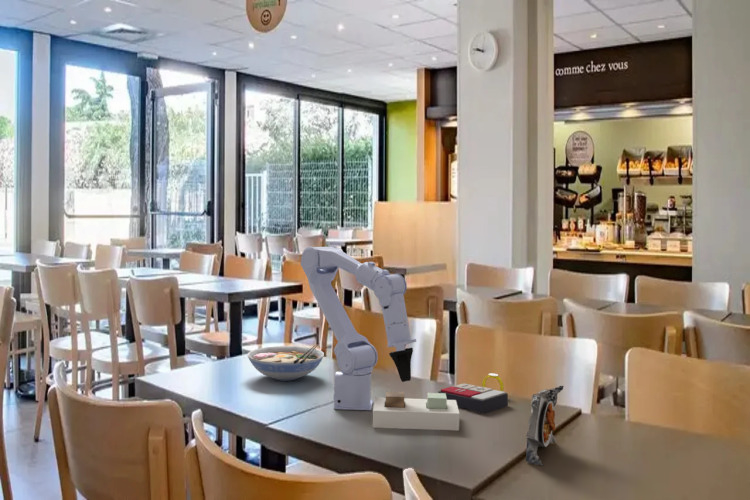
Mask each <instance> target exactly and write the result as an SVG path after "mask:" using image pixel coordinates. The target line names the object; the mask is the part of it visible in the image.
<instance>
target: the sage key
mask: <svg viewBox="0 0 750 500" xmlns="http://www.w3.org/2000/svg"><path fill="white" fill-rule="evenodd" d="M426 396H427V397H426V399H427V409H446V407H447V397H446V393H438V392H427V395H426Z"/></svg>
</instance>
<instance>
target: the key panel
mask: <svg viewBox="0 0 750 500" xmlns="http://www.w3.org/2000/svg"><path fill="white" fill-rule="evenodd" d="M373 403H374V404H373V407H372V428H373V429H374V428H375V429H376V428H378V429H402V430H403V429H405V430H408V429H409V430H431V431H432V430H433V431H460V411H459V407H458V406H457V402H456V400H447V407H446V409H427V398H409V397H408V398H407V397H406V398H405V397H404V408H393V407H386V397H378V396H377V397H374V401H373Z"/></svg>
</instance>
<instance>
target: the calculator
mask: <svg viewBox="0 0 750 500" xmlns="http://www.w3.org/2000/svg"><path fill="white" fill-rule="evenodd" d="M437 393H446V397H447V400H456V402H457V406H458V408H462V409H465V410H469V411H472V412H474V413H477V414H481V415H484V414H488V413H490V412H494V411H497V410H500V409H504V408H506V407H508V406H509V405H508V403H509V396H508V395H509V394H508V393H507V392H506V391H503V392H502V391H500V390H496V389H493V388H490V387H486V388H485V387H482V386H479V385H475V384H474V385H473V384H471V383H470V384H468V383H460V384H459V383H458V384H456V385H453V386H448V387H445V388H441V389H440V391H438V392H437Z"/></svg>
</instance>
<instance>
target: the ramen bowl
mask: <svg viewBox="0 0 750 500" xmlns="http://www.w3.org/2000/svg"><path fill="white" fill-rule="evenodd" d="M324 353H325V352H323V351H322V350H321V349H318V348H317V346H315V345H314V346H312V347H309V346H297V345H280V346H279V345H278V346H266V347H261V348H256V349H253V350H251V351H248V353H247V355H246V356H247V358H248V360H249V362H250V363H251V364H252V366H253V367H254V368H255V369H256V370H257V371H258V372H259V373H261V375H263V376H266V377H269V378H272V379H274V380H275V381H279V382H280V381H282V382H288V381H289V382H291V381H296V380H298V379H299V378H302V377H304V376H306V375H308V374H311V373H312V372H314V371H315V370H316V369H317V368H318V367H319V365H320V363H322V360H323V359H324V355H325V354H324Z"/></svg>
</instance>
